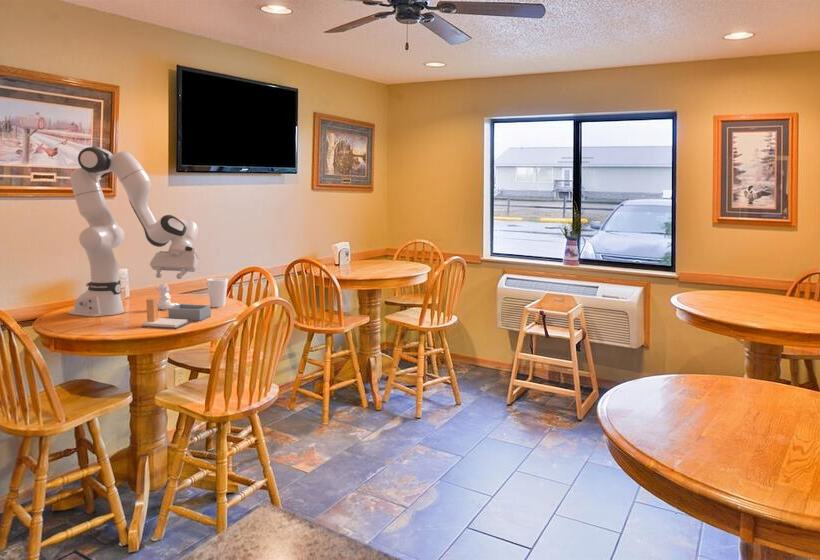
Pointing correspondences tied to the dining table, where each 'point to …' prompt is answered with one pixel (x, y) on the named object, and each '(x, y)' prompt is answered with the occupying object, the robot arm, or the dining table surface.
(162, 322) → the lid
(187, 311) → the tub
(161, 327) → the mat
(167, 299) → the white creature statuette
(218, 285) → the foam cup
